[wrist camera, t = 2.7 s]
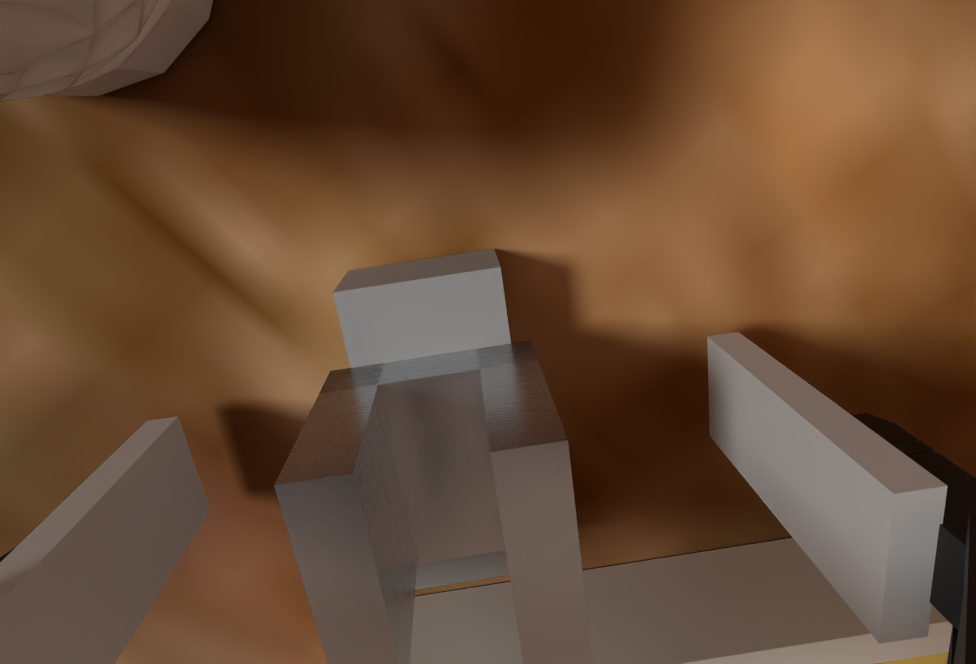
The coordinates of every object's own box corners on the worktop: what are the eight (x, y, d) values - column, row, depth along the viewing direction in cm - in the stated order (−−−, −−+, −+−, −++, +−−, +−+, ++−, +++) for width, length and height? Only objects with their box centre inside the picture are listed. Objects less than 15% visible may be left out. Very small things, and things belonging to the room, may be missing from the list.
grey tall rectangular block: (408, 540, 17) (403, 591, 15) (347, 270, 15) (332, 292, 13) (532, 521, 17) (542, 569, 15) (494, 248, 15) (500, 266, 13)
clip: (371, 538, 15) (339, 703, 11) (330, 371, 13) (274, 485, 9) (552, 510, 15) (593, 664, 11) (531, 340, 13) (567, 440, 9)
